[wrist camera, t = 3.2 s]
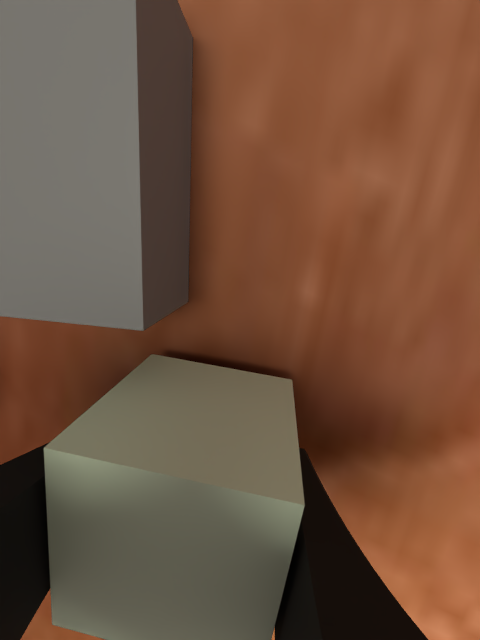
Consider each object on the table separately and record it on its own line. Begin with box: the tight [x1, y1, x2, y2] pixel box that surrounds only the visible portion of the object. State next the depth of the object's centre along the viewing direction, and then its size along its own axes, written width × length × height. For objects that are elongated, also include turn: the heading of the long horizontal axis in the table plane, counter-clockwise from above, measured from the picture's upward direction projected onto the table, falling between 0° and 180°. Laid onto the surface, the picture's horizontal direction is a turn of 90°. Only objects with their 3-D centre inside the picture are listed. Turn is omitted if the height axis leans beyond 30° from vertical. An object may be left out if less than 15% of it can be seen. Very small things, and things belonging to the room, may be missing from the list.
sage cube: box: [44, 354, 305, 640], centre depth 8 cm, size 5×5×5 cm
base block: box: [0, 0, 193, 331], centre depth 9 cm, size 8×8×4 cm
